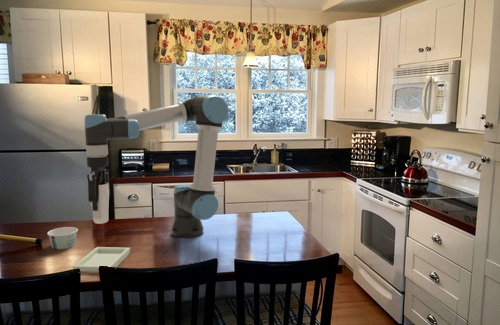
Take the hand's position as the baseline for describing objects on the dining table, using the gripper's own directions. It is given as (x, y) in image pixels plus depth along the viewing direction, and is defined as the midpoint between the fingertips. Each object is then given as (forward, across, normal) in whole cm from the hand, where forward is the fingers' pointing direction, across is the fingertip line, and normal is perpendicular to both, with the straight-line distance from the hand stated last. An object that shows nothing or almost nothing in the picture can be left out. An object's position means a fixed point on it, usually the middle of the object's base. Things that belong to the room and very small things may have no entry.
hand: (100, 215), depth 152 cm
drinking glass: (+3, 0, 0) cm, 3 cm away
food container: (+19, -17, -25) cm, 36 cm away
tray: (+18, 0, 0) cm, 18 cm away
